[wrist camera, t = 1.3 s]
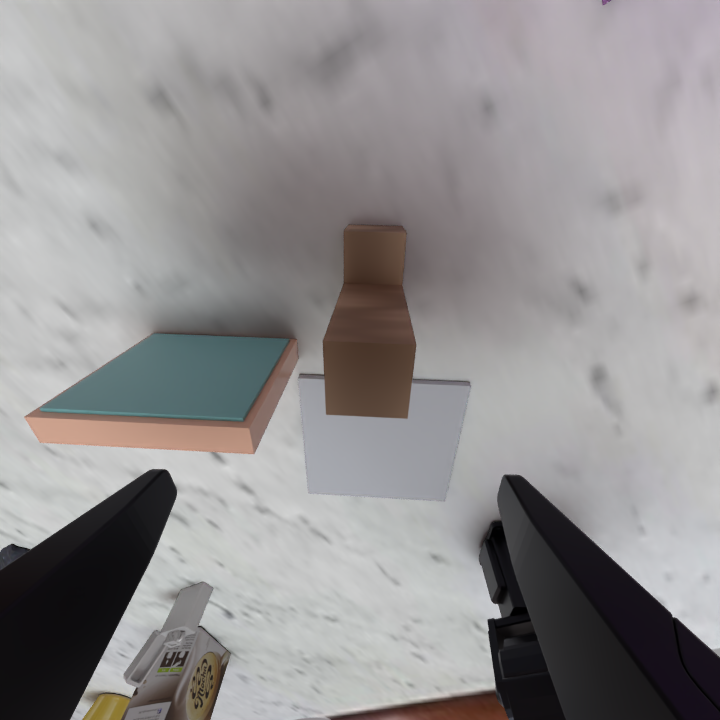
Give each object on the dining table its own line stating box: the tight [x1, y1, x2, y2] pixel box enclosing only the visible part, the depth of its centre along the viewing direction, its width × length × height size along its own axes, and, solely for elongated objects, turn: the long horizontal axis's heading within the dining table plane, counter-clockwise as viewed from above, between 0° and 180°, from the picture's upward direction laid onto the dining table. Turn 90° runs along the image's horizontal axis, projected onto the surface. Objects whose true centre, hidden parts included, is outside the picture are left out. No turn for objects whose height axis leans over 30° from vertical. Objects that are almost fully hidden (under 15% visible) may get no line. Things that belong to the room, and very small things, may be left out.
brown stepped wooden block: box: [323, 225, 416, 419], centre depth 15 cm, size 3×8×10 cm, turn 179°
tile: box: [24, 333, 298, 454], centre depth 18 cm, size 10×2×9 cm, turn 89°
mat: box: [298, 375, 471, 501], centre depth 25 cm, size 12×12×1 cm
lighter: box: [124, 582, 213, 688], centre depth 35 cm, size 7×2×8 cm, turn 123°
